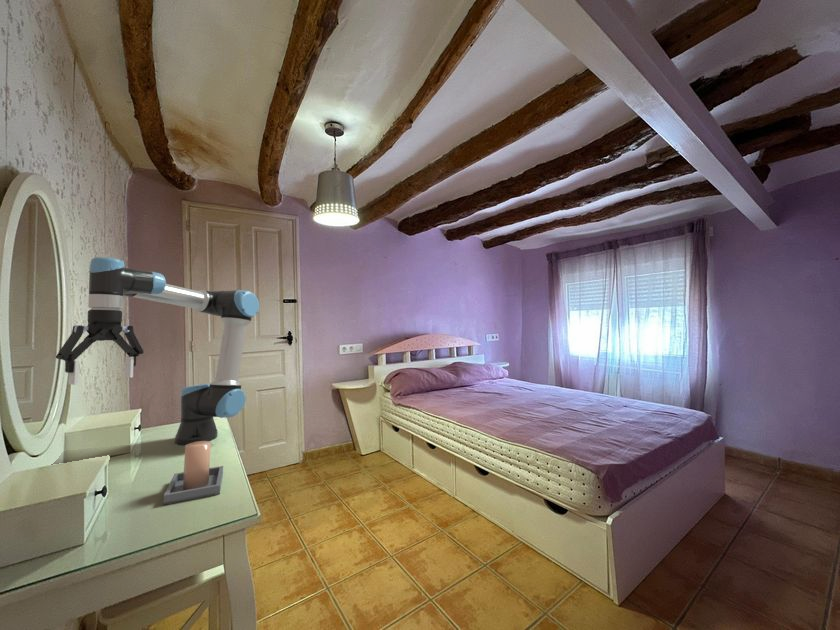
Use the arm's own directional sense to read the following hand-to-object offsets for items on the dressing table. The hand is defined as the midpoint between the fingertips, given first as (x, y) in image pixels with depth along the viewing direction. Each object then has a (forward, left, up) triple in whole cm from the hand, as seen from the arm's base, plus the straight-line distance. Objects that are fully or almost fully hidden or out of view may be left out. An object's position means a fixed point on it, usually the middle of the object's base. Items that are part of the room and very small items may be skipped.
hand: (102, 380), depth 99 cm
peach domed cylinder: (-10, +26, -31) cm, 42 cm away
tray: (-9, +27, -32) cm, 42 cm away
